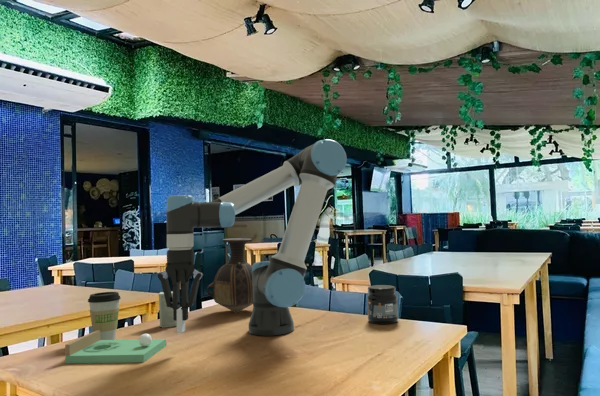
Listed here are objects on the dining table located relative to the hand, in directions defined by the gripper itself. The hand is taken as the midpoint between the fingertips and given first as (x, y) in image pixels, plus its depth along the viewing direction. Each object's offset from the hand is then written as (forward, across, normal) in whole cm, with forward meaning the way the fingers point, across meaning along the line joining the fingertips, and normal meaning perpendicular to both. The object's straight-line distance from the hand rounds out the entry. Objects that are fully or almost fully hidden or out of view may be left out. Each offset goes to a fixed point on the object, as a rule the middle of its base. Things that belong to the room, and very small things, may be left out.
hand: (181, 331), depth 128 cm
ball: (+2, +11, 0) cm, 11 cm away
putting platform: (+6, +18, 0) cm, 20 cm away
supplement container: (+5, -60, -34) cm, 70 cm away
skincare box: (+6, +16, -34) cm, 38 cm away
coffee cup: (+7, +30, -15) cm, 35 cm away
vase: (+6, -4, -55) cm, 56 cm away
